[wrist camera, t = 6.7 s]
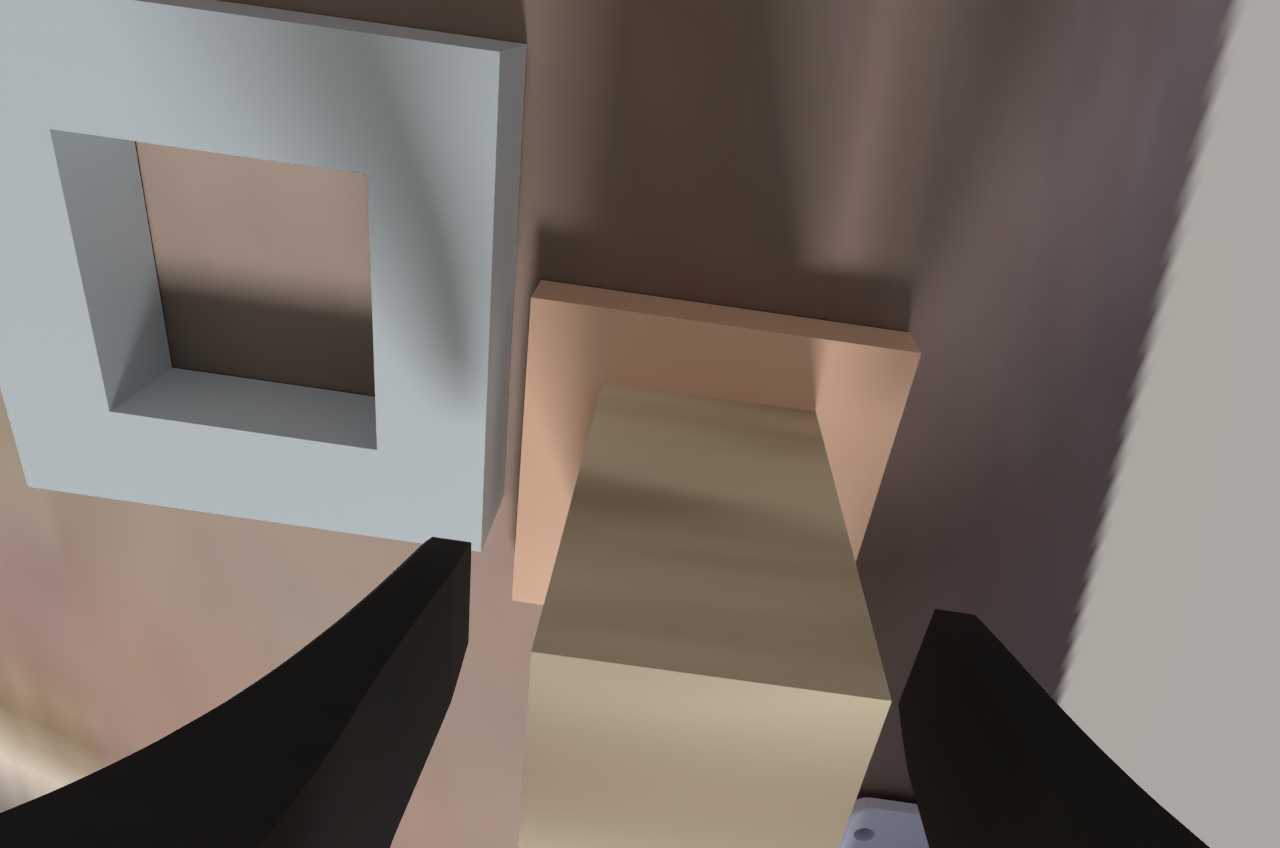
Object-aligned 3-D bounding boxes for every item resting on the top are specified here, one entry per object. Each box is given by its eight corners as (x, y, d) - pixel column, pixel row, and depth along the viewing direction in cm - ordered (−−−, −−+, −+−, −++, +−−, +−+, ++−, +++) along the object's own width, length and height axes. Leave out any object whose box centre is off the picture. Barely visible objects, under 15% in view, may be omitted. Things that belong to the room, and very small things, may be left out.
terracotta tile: (823, 615, 19) (829, 646, 18) (520, 571, 19) (511, 600, 18) (908, 332, 15) (921, 352, 14) (540, 280, 15) (530, 297, 14)
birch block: (774, 580, 17) (814, 915, 11) (585, 554, 17) (516, 873, 11) (815, 411, 15) (892, 701, 9) (602, 383, 15) (531, 651, 9)
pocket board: (503, 496, 18) (480, 552, 16) (95, 437, 18) (27, 486, 16) (526, 44, 13) (499, 51, 12) (-11, -32, 13) (-119, -36, 12)
